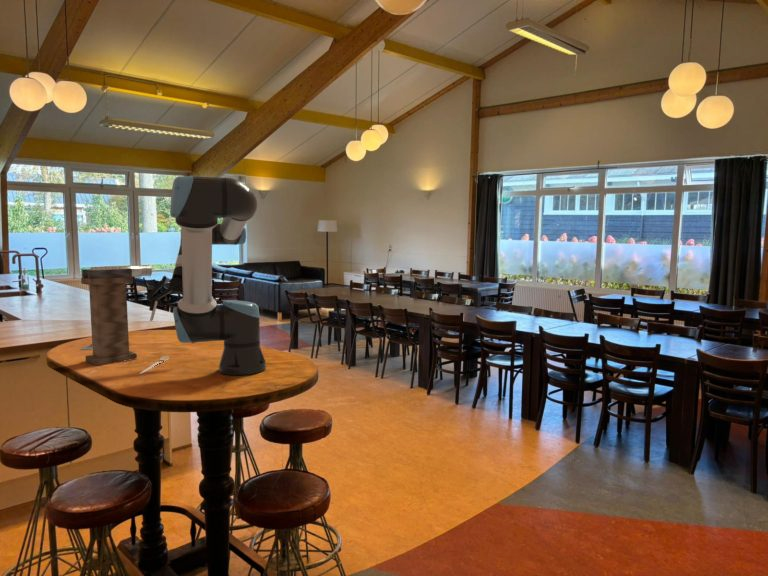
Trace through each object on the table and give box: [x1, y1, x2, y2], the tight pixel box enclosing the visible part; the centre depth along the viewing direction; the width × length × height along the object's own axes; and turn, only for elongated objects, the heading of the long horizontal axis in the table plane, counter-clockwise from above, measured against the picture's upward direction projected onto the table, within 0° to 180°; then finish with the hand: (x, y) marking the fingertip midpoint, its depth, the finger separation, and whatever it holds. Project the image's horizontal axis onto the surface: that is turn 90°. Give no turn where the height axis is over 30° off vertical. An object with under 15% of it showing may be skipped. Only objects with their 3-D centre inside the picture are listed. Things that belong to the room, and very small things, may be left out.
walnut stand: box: [80, 268, 138, 367], centre depth 190 cm, size 14×10×33 cm
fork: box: [138, 355, 169, 375], centre depth 182 cm, size 3×20×2 cm, turn 179°
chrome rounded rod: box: [89, 264, 153, 277], centre depth 192 cm, size 20×4×4 cm, turn 136°
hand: (172, 324), depth 184 cm, fingers open, 13 cm apart
